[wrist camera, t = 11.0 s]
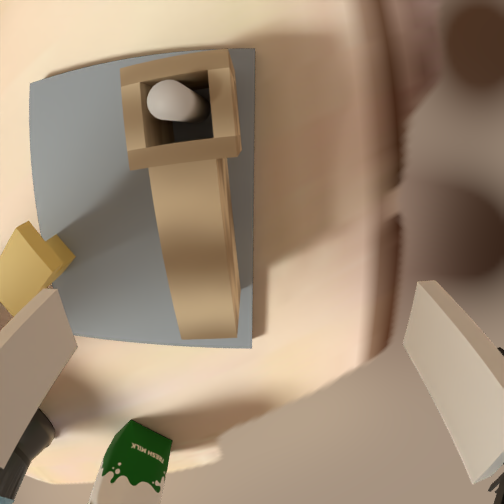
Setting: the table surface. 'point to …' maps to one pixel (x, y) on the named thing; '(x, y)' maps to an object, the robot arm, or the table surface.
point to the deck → (118, 205)
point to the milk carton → (133, 467)
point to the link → (191, 189)
